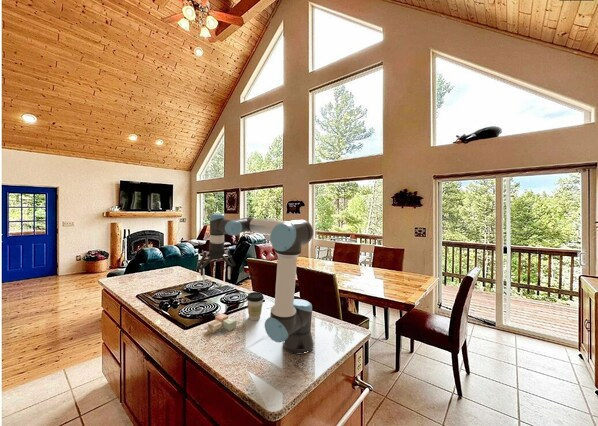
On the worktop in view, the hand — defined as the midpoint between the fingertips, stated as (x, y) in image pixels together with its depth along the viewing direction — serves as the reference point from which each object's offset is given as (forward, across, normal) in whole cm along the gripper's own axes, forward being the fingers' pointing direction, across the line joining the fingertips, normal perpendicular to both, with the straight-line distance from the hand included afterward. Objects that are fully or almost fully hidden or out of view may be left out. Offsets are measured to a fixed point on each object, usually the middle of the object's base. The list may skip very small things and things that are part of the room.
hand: (216, 279), depth 158 cm
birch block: (+25, +2, +8) cm, 26 cm away
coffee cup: (+26, -22, +2) cm, 34 cm away
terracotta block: (+25, -3, +2) cm, 25 cm away
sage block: (+25, -6, +8) cm, 27 cm away
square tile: (+26, -1, +7) cm, 27 cm away
